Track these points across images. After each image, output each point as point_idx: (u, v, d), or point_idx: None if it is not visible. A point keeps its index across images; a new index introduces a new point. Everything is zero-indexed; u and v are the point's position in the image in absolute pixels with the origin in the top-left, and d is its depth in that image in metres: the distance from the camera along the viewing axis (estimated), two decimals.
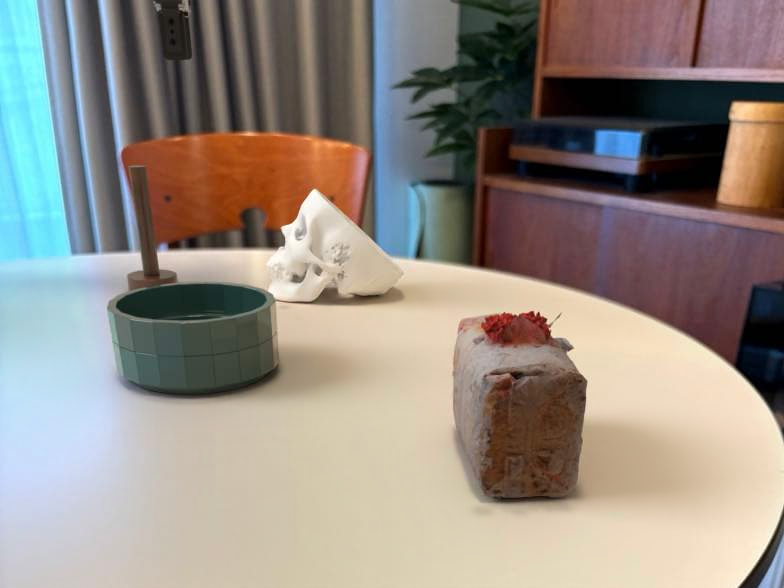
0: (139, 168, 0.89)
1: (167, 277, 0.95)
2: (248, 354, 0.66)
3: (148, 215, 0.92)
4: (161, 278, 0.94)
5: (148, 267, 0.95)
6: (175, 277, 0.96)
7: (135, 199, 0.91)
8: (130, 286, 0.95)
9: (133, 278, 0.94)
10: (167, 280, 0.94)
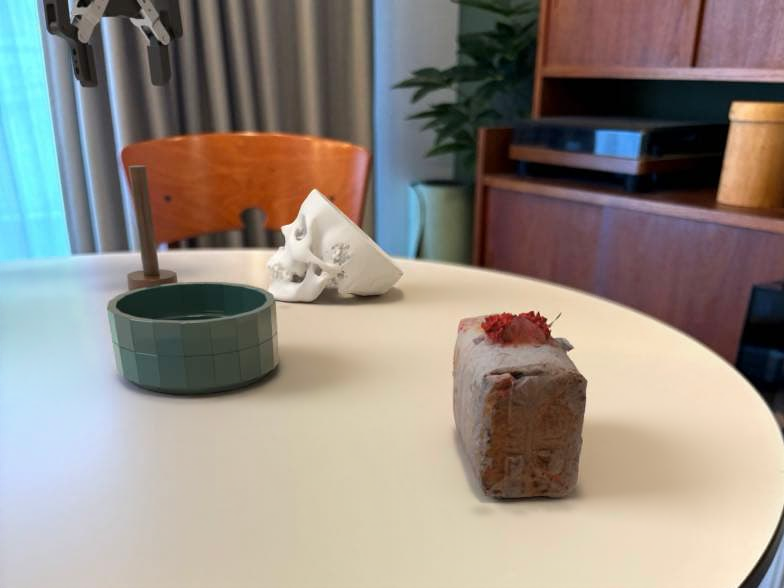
0: (139, 168, 0.89)
1: (167, 277, 0.95)
2: (248, 354, 0.66)
3: (148, 215, 0.92)
4: (161, 278, 0.94)
5: (148, 267, 0.95)
6: (175, 277, 0.96)
7: (135, 199, 0.91)
8: (130, 286, 0.95)
9: (133, 278, 0.94)
10: (167, 280, 0.94)
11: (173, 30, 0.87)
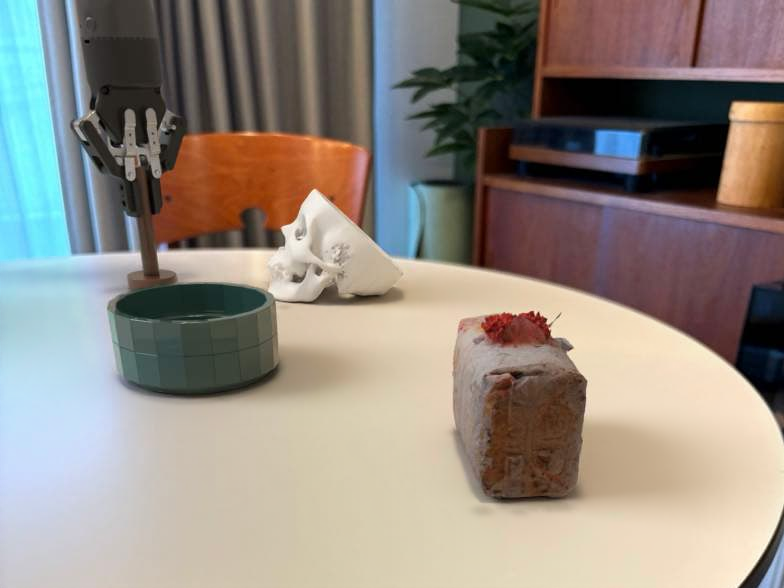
0: (139, 168, 0.89)
1: (167, 277, 0.95)
2: (248, 354, 0.66)
3: (148, 215, 0.92)
4: (161, 278, 0.94)
5: (148, 267, 0.94)
6: (175, 277, 0.96)
7: None
8: (130, 286, 0.95)
9: (133, 278, 0.94)
10: (167, 280, 0.94)
11: (165, 164, 0.91)
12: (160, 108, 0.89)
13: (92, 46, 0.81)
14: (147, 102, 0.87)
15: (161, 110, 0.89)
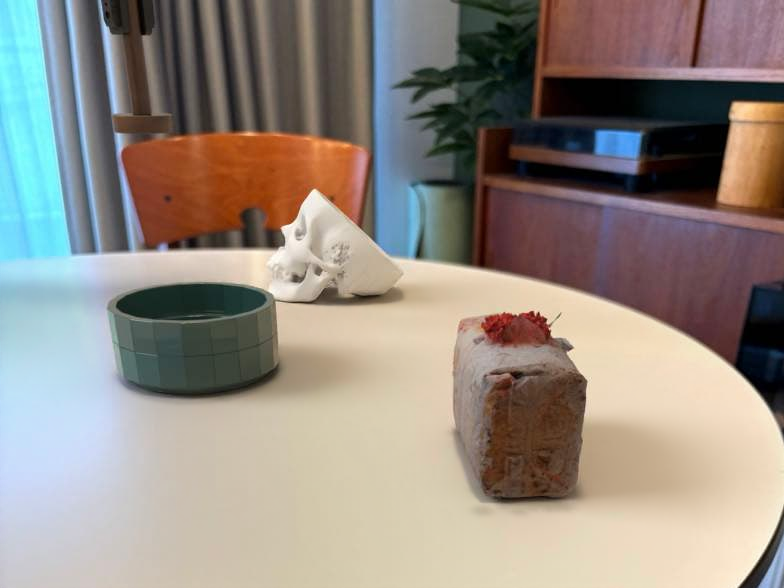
0: None
1: (161, 115, 0.78)
2: (248, 354, 0.66)
3: (137, 33, 0.75)
4: (154, 115, 0.77)
5: (138, 103, 0.78)
6: (170, 117, 0.79)
7: None
8: (116, 126, 0.78)
9: (119, 115, 0.77)
10: (161, 118, 0.78)
11: None
12: None
13: None
14: None
15: None
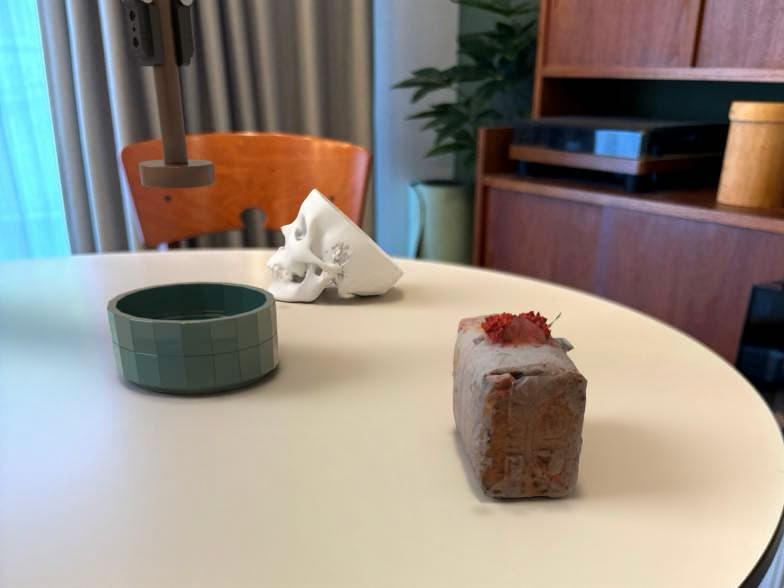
0: None
1: (200, 165, 0.63)
2: (248, 354, 0.66)
3: (173, 65, 0.60)
4: (191, 165, 0.62)
5: (172, 150, 0.62)
6: (211, 167, 0.64)
7: None
8: (144, 178, 0.63)
9: (149, 165, 0.62)
10: (201, 168, 0.62)
11: None
12: None
13: None
14: None
15: None
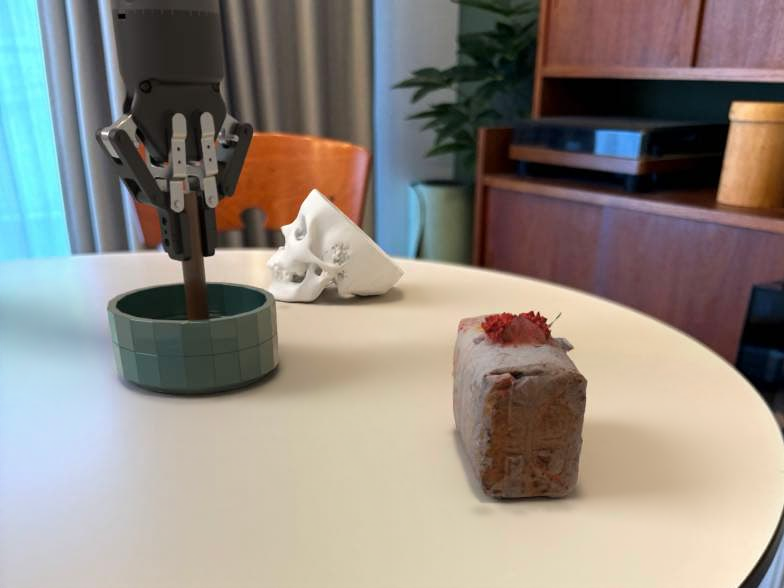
0: (189, 195, 0.65)
1: None
2: (248, 354, 0.66)
3: (199, 258, 0.67)
4: None
5: None
6: None
7: None
8: None
9: None
10: None
11: (222, 188, 0.67)
12: (219, 112, 0.64)
13: (129, 23, 0.57)
14: (202, 104, 0.63)
15: (220, 115, 0.64)
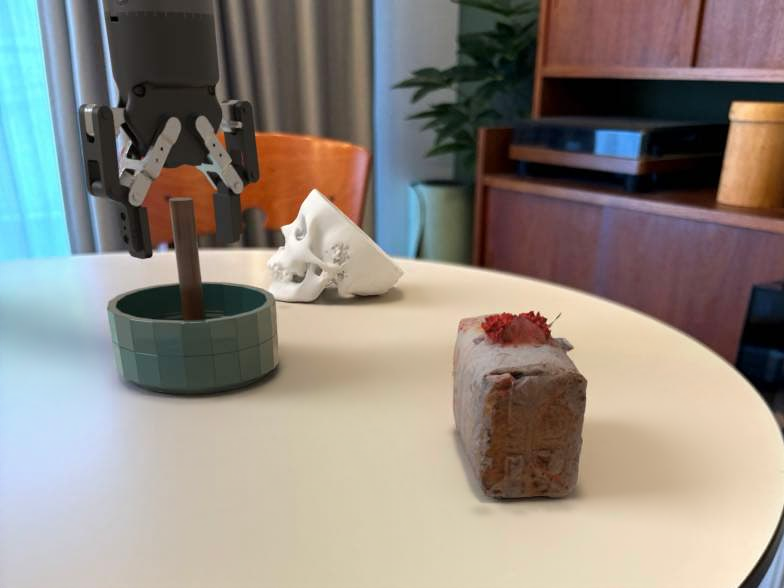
0: (184, 202, 0.64)
1: None
2: (248, 354, 0.66)
3: (195, 266, 0.66)
4: None
5: None
6: None
7: (178, 244, 0.65)
8: None
9: None
10: None
11: (248, 174, 0.67)
12: (215, 115, 0.63)
13: (122, 26, 0.56)
14: (197, 107, 0.61)
15: (216, 118, 0.63)
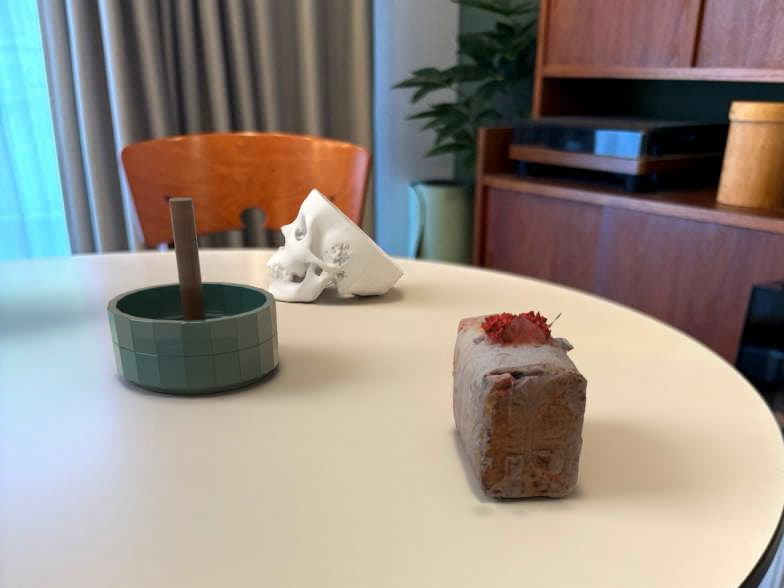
0: (184, 202, 0.64)
1: None
2: (248, 354, 0.66)
3: (195, 266, 0.66)
4: None
5: None
6: None
7: (178, 244, 0.65)
8: None
9: None
10: None
11: None
12: None
13: None
14: None
15: None
